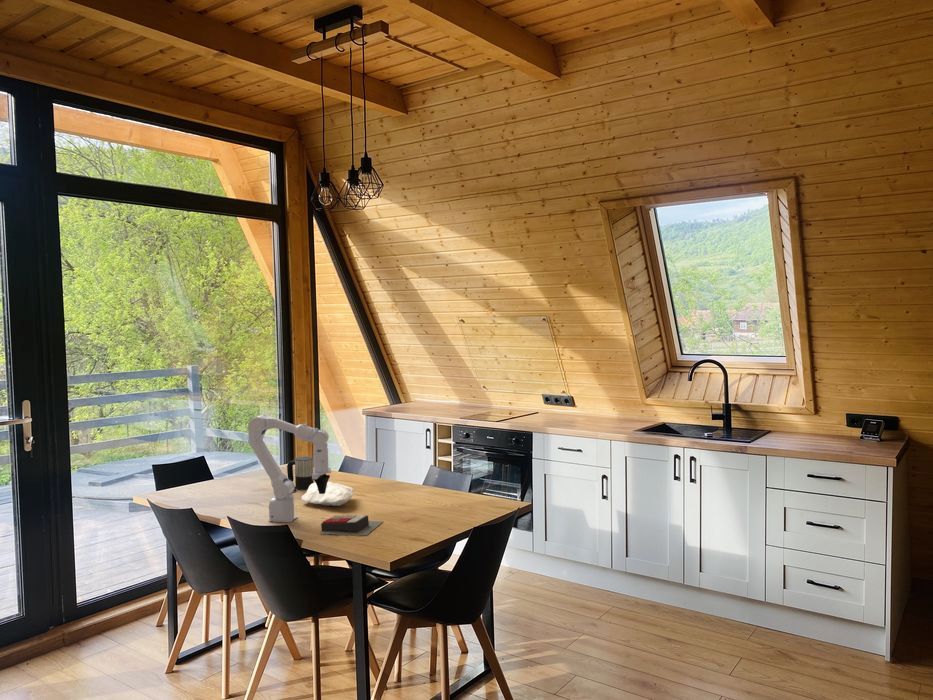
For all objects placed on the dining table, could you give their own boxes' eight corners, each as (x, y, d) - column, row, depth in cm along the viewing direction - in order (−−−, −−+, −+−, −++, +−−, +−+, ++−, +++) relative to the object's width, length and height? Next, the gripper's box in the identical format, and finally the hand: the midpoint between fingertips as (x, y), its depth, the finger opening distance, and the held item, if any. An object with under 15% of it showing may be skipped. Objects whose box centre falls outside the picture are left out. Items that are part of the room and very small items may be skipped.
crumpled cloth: (339, 489, 350) (336, 471, 349) (375, 502, 322) (371, 481, 321) (293, 505, 337) (289, 486, 336) (326, 519, 309) (322, 498, 308)
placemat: (320, 534, 278) (320, 533, 278) (340, 520, 298) (340, 520, 298) (366, 536, 274) (366, 535, 274) (383, 522, 294) (383, 521, 294)
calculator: (333, 514, 293) (368, 513, 288) (334, 525, 293) (369, 524, 288) (320, 521, 282) (355, 520, 278) (321, 532, 282) (357, 532, 278)
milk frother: (316, 485, 368) (315, 456, 368) (309, 492, 352) (308, 461, 352) (288, 486, 368) (287, 456, 368) (279, 493, 353) (278, 462, 352)
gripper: (323, 463, 293) (324, 497, 293) (337, 457, 307) (338, 489, 307) (306, 463, 294) (307, 497, 295) (321, 457, 308) (322, 489, 309)
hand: (322, 493), depth 301 cm, fingers closed
